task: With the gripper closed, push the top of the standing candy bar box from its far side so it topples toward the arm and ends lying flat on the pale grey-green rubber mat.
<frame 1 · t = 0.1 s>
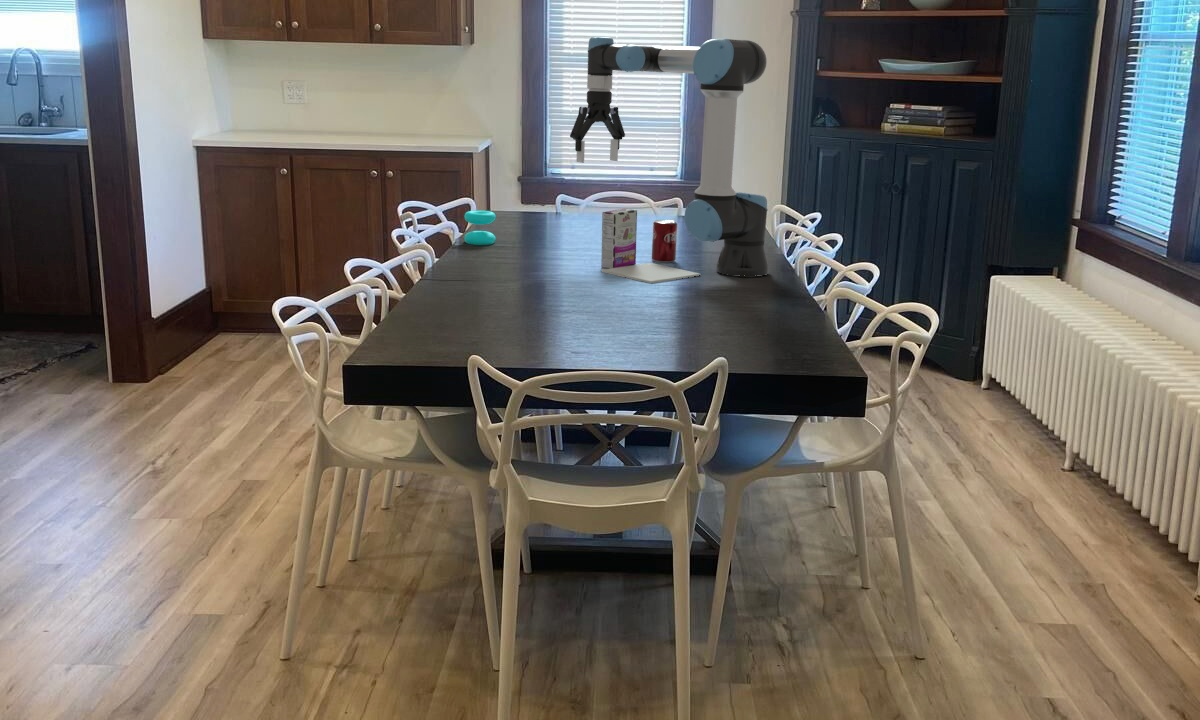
hand: (597, 161, 343), 28 cm above the table, tool pointing down, fingers open, 13 cm apart
soda can: (663, 261, 340), on the table
donuts: (479, 243, 360), on the table
candy bar box: (618, 267, 328), on the table
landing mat: (650, 273, 319), on the table
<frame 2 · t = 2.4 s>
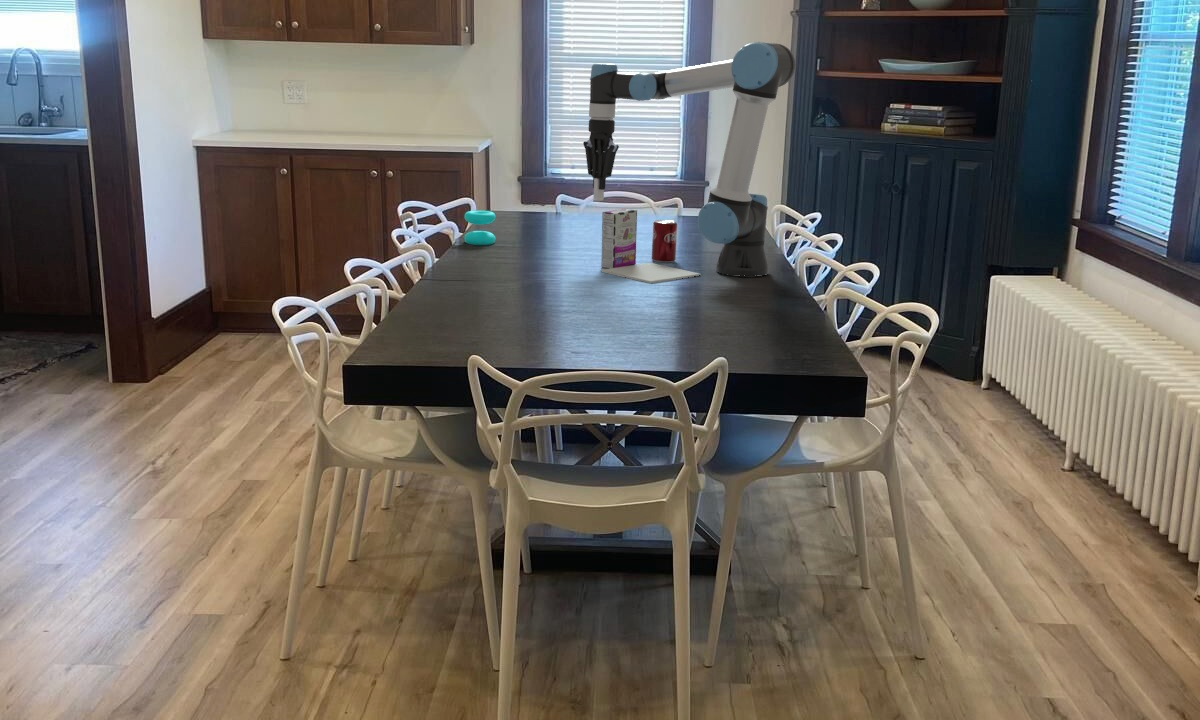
hand: (598, 200, 330), 18 cm above the table, tool pointing down, fingers closed
nothing on the table moved.
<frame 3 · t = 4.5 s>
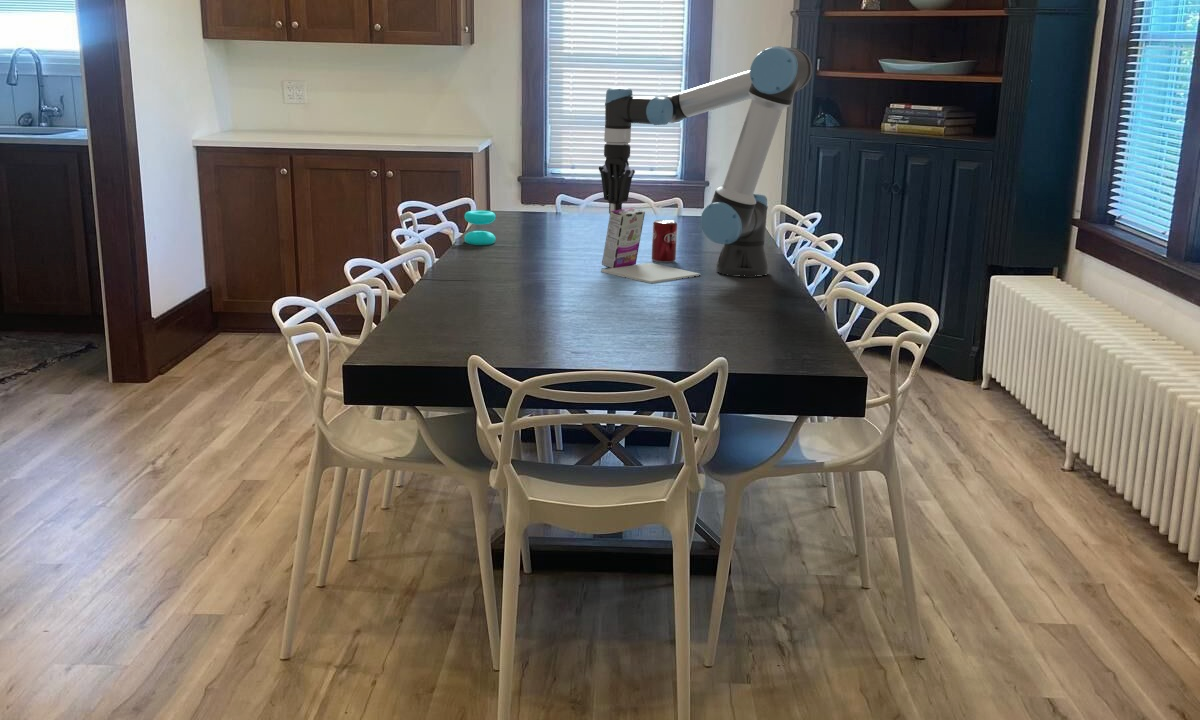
hand: (614, 225, 327), 12 cm above the table, tool pointing down, fingers closed
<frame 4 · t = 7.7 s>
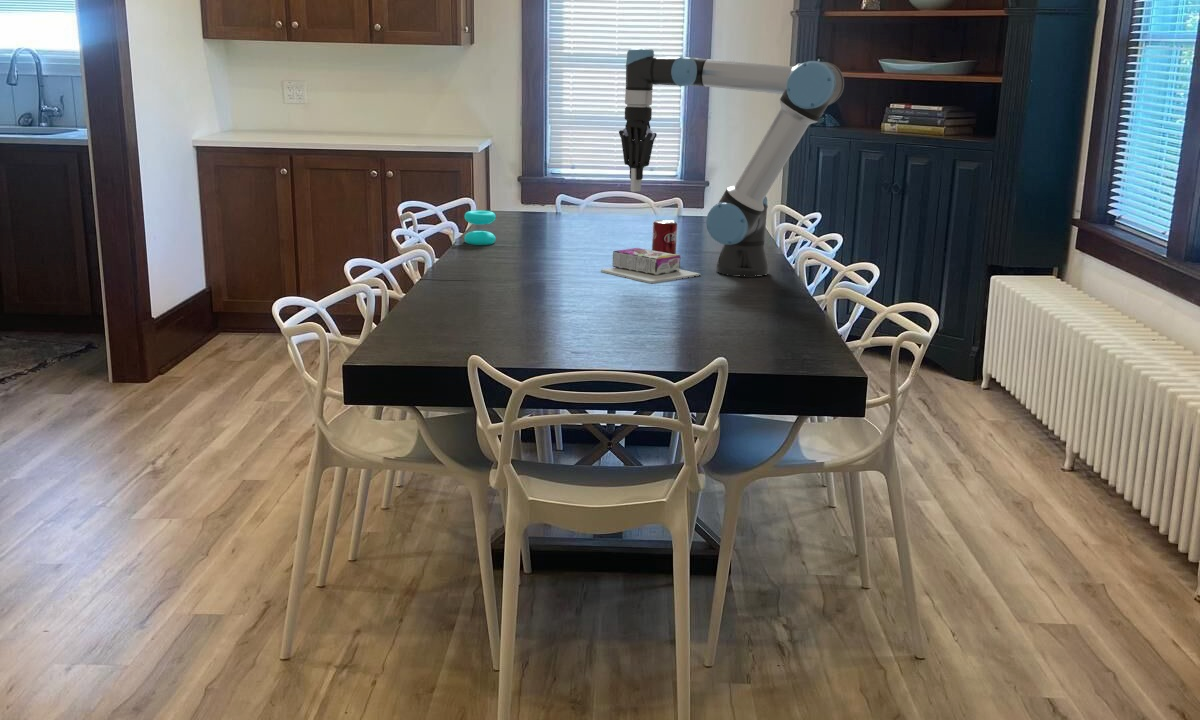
hand: (635, 191, 318), 23 cm above the table, tool pointing down, fingers closed
candy bar box: (623, 256, 326), point 3 cm above the table, touching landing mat
everything else where it was.
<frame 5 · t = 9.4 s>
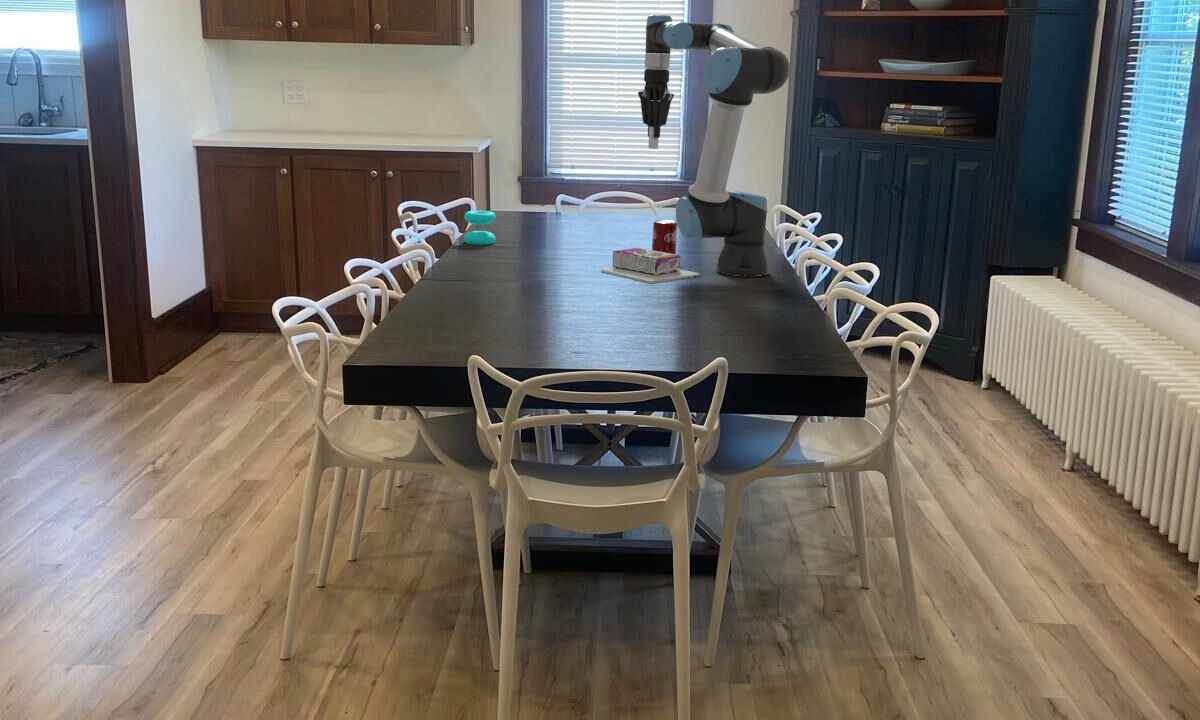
hand: (653, 148, 343), 33 cm above the table, tool pointing down, fingers closed
nothing on the table moved.
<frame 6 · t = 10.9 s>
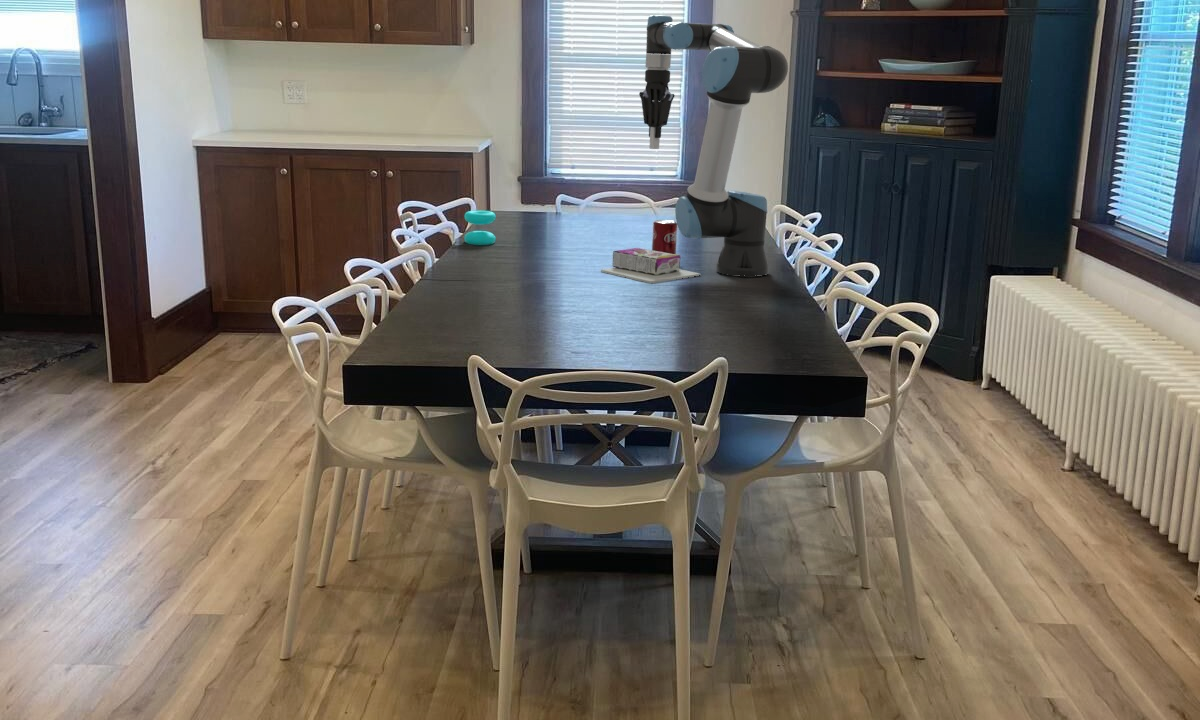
hand: (654, 148, 343), 32 cm above the table, tool pointing down, fingers closed
nothing on the table moved.
at the end: candy bar box tilted 91°; candy bar box touching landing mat; candy bar box inside the target area (2.1 cm from its centre), point 3.1 cm above the table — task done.
